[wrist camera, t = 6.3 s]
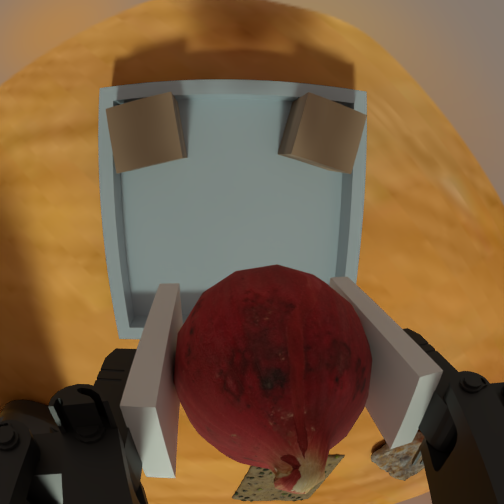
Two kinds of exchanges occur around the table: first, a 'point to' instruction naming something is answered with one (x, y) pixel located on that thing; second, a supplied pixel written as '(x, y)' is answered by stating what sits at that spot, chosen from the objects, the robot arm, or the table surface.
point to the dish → (224, 196)
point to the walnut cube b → (322, 133)
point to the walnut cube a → (146, 132)
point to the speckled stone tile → (263, 489)
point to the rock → (399, 459)
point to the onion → (273, 371)
